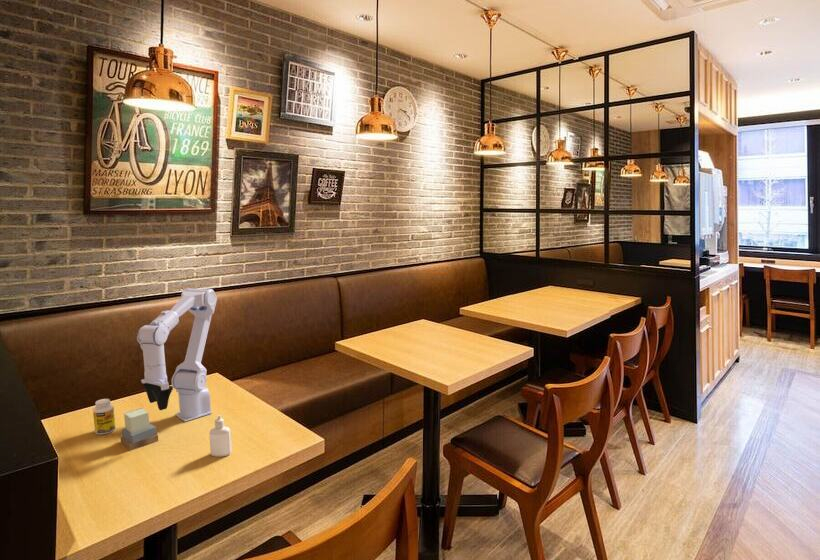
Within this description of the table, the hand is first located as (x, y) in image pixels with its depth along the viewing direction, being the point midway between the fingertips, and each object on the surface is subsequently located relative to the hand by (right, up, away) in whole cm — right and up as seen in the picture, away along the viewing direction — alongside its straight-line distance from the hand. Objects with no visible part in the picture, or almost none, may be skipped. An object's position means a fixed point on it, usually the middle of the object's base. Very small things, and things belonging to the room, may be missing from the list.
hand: (158, 405), depth 151 cm
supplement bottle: (-19, -10, +5) cm, 22 cm away
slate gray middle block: (-5, -9, -2) cm, 10 cm away
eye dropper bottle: (+23, -12, -8) cm, 27 cm away
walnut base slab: (-5, -11, -1) cm, 12 cm away
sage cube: (-5, -6, -2) cm, 9 cm away
